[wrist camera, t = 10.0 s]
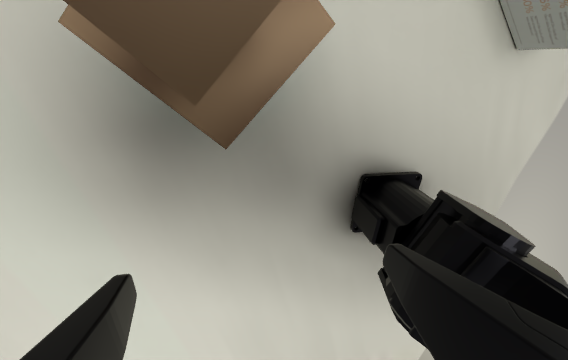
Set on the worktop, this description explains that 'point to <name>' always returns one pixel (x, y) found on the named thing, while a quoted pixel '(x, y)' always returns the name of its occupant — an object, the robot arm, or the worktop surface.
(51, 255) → the worktop surface
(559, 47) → the small box
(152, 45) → the brown upright piece
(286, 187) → the worktop surface
